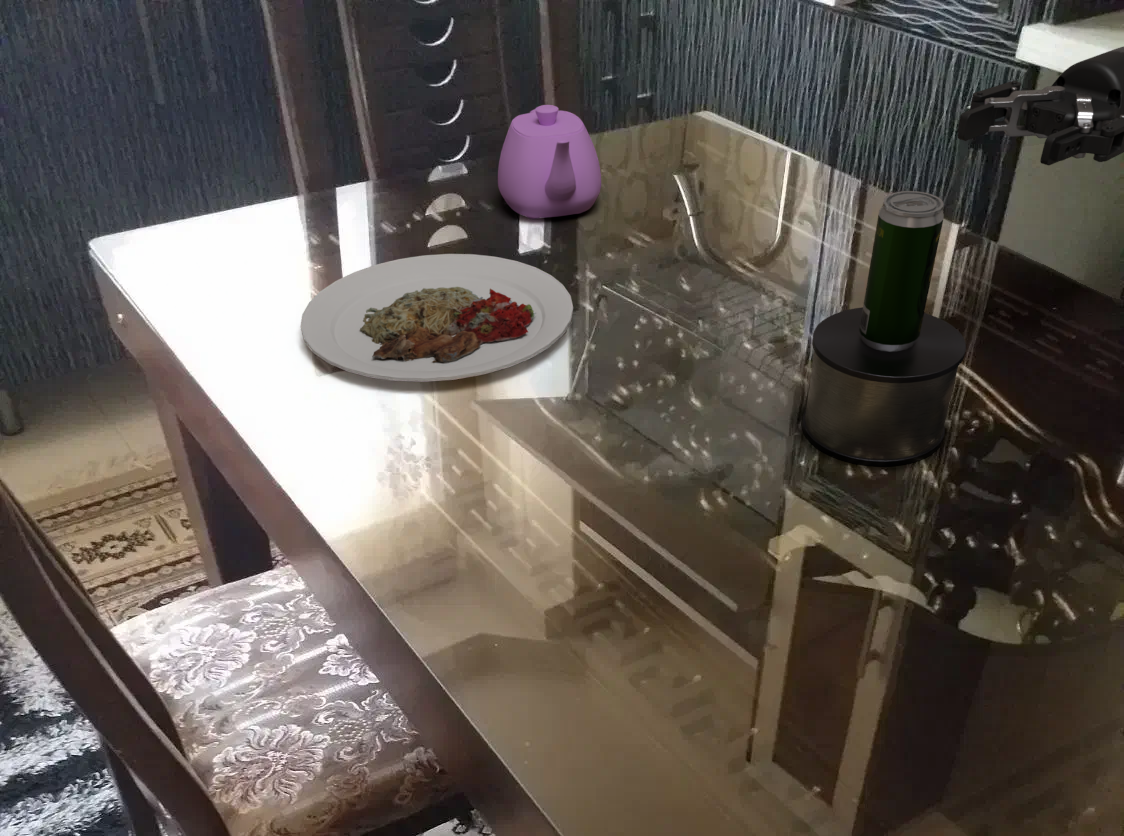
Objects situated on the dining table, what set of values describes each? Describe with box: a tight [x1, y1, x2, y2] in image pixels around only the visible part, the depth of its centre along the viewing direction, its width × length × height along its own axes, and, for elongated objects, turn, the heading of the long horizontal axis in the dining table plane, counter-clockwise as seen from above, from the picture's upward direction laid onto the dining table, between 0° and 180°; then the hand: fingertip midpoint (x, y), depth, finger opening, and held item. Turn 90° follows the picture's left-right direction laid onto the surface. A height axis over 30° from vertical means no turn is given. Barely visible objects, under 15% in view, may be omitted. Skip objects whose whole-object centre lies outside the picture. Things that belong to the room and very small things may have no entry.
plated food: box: [300, 253, 574, 383], centre depth 127 cm, size 30×30×3 cm
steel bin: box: [801, 306, 967, 467], centre depth 107 cm, size 14×14×9 cm
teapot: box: [497, 104, 602, 220], centre depth 146 cm, size 20×13×12 cm, turn 13°
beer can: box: [859, 190, 945, 352], centre depth 100 cm, size 5×5×12 cm
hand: (1003, 139), depth 98 cm, fingers open, 8 cm apart
